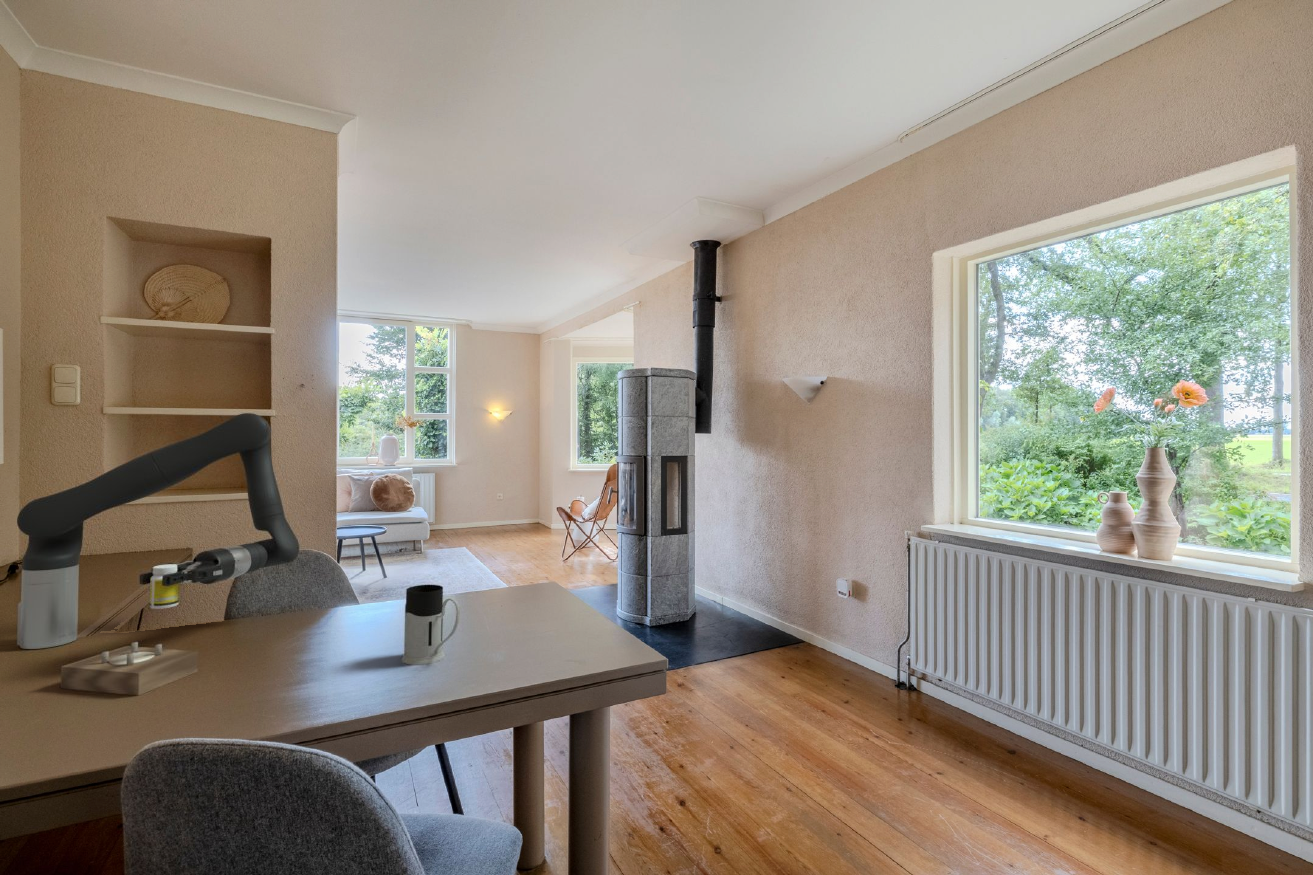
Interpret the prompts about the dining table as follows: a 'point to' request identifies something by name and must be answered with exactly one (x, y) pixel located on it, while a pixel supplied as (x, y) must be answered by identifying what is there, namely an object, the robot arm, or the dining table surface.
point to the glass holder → (425, 624)
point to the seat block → (129, 670)
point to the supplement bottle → (163, 588)
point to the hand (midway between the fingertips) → (152, 580)
